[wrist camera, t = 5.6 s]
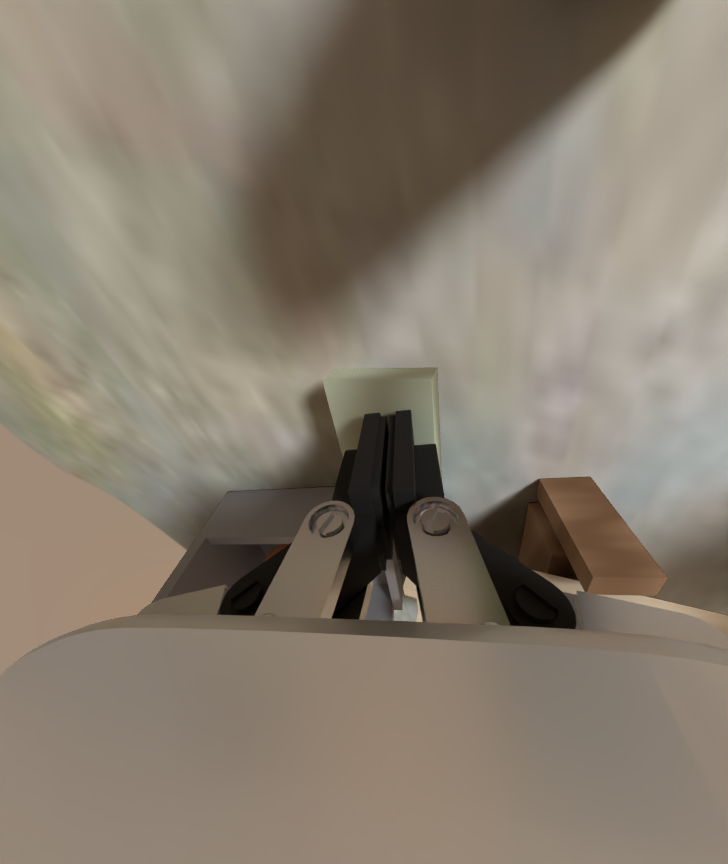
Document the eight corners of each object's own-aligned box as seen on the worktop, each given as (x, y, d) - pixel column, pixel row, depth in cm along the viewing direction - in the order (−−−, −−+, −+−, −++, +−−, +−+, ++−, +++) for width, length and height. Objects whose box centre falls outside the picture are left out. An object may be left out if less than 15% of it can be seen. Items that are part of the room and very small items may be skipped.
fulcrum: (597, 476, 15) (677, 578, 11) (560, 584, 20) (603, 682, 16) (533, 479, 16) (584, 577, 11) (513, 583, 21) (543, 677, 16)
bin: (385, 484, 17) (372, 642, 10) (402, 582, 22) (401, 727, 16) (227, 491, 19) (133, 628, 12) (278, 580, 24) (232, 708, 18)
